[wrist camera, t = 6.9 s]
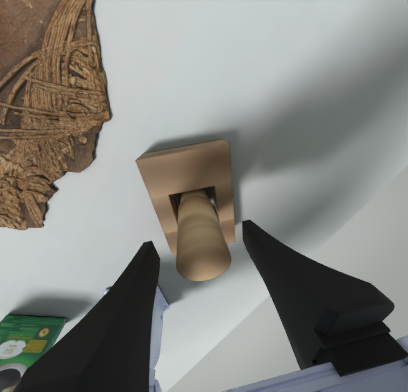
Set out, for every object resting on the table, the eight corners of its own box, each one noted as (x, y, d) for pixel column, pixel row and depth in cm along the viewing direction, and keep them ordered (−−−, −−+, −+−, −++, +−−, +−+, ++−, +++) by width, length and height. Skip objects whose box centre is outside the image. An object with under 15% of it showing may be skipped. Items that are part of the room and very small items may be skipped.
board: (229, 228, 20) (235, 241, 18) (173, 240, 20) (172, 255, 18) (222, 139, 14) (229, 143, 12) (142, 153, 14) (135, 160, 12)
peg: (210, 207, 18) (231, 275, 10) (181, 212, 18) (181, 285, 10) (207, 181, 16) (230, 239, 9) (175, 186, 16) (170, 250, 8)
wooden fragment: (30, 244, 18) (21, 251, 17) (-117, 187, 13) (-140, 193, 12) (172, 58, 11) (171, 53, 10) (-10, -179, 7) (-40, -227, 6)
